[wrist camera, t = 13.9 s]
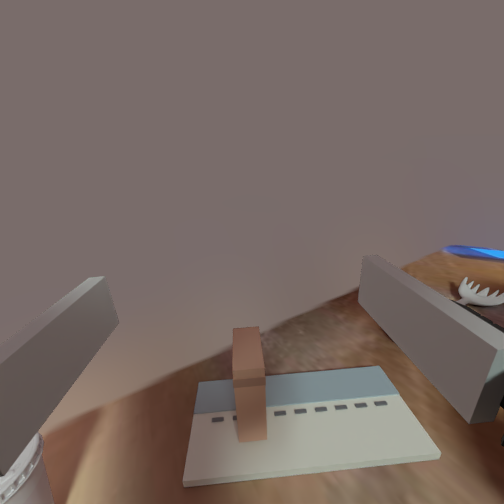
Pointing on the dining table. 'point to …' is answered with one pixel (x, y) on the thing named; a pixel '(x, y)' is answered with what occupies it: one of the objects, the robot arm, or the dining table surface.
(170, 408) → the dining table surface
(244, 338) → the small tan carton
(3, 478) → the smoothie
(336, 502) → the dining table surface
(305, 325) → the dining table surface
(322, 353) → the dining table surface
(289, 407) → the board
